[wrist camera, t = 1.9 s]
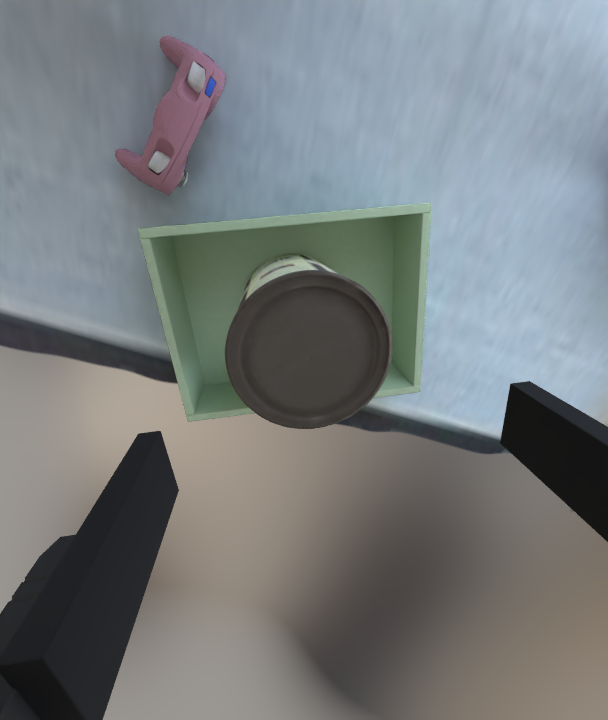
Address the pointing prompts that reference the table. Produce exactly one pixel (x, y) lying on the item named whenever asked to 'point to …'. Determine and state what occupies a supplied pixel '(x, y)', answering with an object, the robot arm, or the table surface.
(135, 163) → the video game controller
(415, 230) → the bin
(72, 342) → the table surface
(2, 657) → the robot arm
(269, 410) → the coffee can
